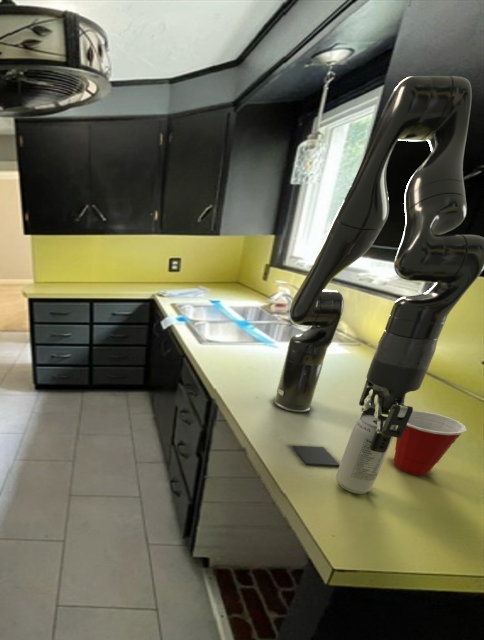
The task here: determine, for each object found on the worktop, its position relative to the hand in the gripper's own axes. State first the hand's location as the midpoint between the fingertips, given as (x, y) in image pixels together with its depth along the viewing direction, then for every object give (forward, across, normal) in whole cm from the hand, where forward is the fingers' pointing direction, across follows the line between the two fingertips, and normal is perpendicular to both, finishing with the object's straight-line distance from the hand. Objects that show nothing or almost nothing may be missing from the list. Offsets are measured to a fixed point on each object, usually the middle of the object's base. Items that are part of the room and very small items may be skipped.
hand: (369, 440), depth 69 cm
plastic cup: (+11, +12, -14) cm, 21 cm away
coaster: (+11, +9, +5) cm, 15 cm away
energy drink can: (+11, 0, 0) cm, 11 cm away
